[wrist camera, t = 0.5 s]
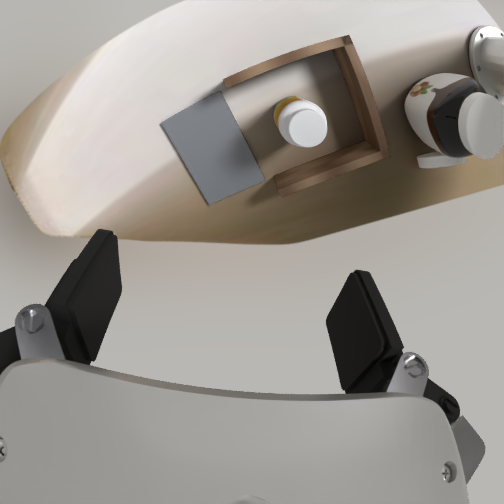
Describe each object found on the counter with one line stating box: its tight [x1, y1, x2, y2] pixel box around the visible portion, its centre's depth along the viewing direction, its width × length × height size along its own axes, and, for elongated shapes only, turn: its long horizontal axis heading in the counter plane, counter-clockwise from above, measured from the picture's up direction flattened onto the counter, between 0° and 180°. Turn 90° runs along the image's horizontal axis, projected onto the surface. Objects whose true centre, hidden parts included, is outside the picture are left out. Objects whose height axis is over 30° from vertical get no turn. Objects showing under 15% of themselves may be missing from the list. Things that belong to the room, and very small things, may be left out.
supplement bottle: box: [273, 96, 327, 147], centre depth 26 cm, size 5×5×8 cm
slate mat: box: [161, 91, 265, 205], centre depth 32 cm, size 8×12×1 cm, turn 25°
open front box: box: [223, 35, 390, 198], centre depth 27 cm, size 13×14×4 cm
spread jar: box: [404, 73, 504, 168], centre depth 24 cm, size 12×11×12 cm
